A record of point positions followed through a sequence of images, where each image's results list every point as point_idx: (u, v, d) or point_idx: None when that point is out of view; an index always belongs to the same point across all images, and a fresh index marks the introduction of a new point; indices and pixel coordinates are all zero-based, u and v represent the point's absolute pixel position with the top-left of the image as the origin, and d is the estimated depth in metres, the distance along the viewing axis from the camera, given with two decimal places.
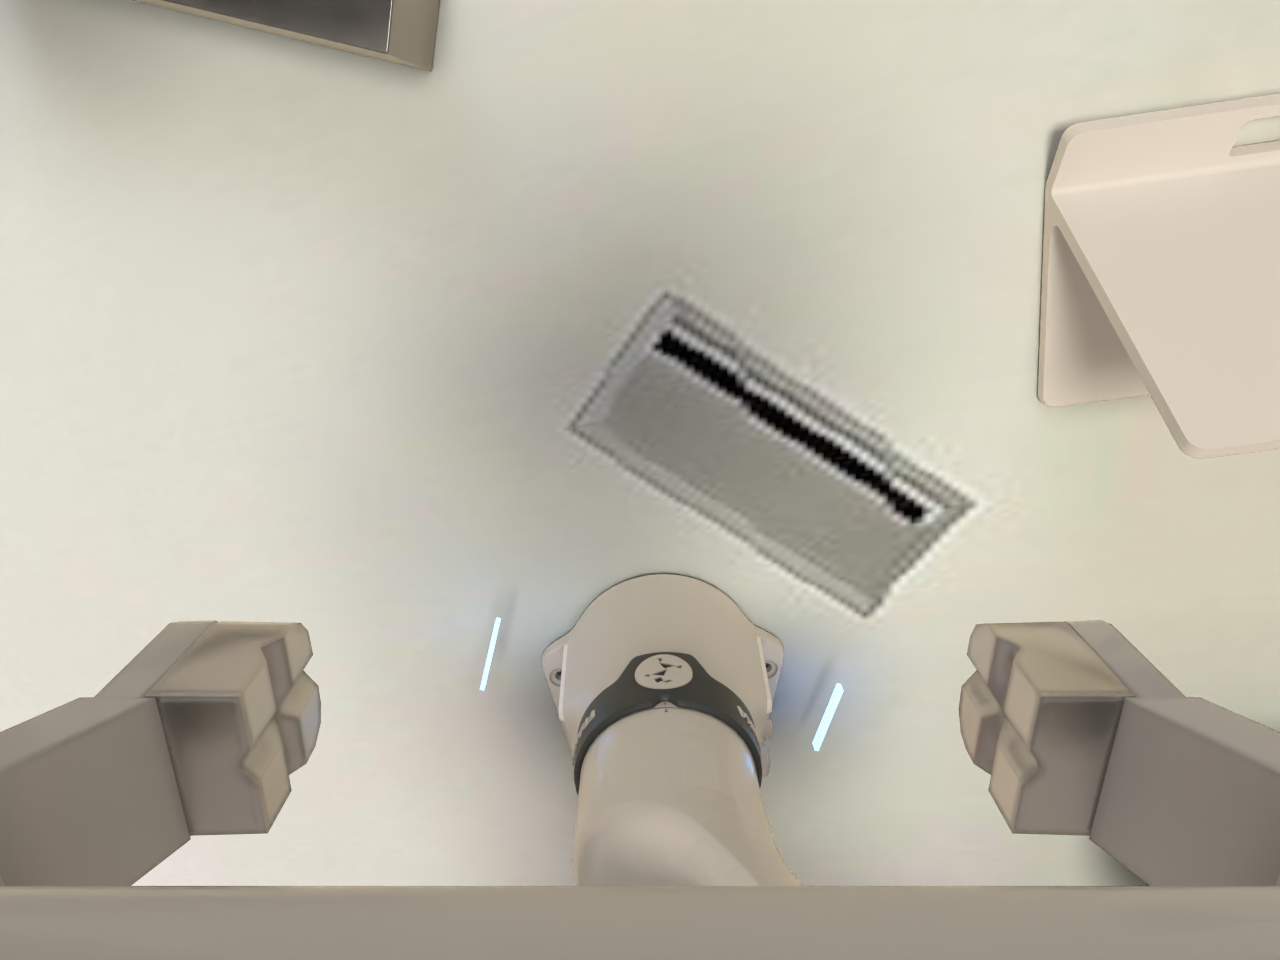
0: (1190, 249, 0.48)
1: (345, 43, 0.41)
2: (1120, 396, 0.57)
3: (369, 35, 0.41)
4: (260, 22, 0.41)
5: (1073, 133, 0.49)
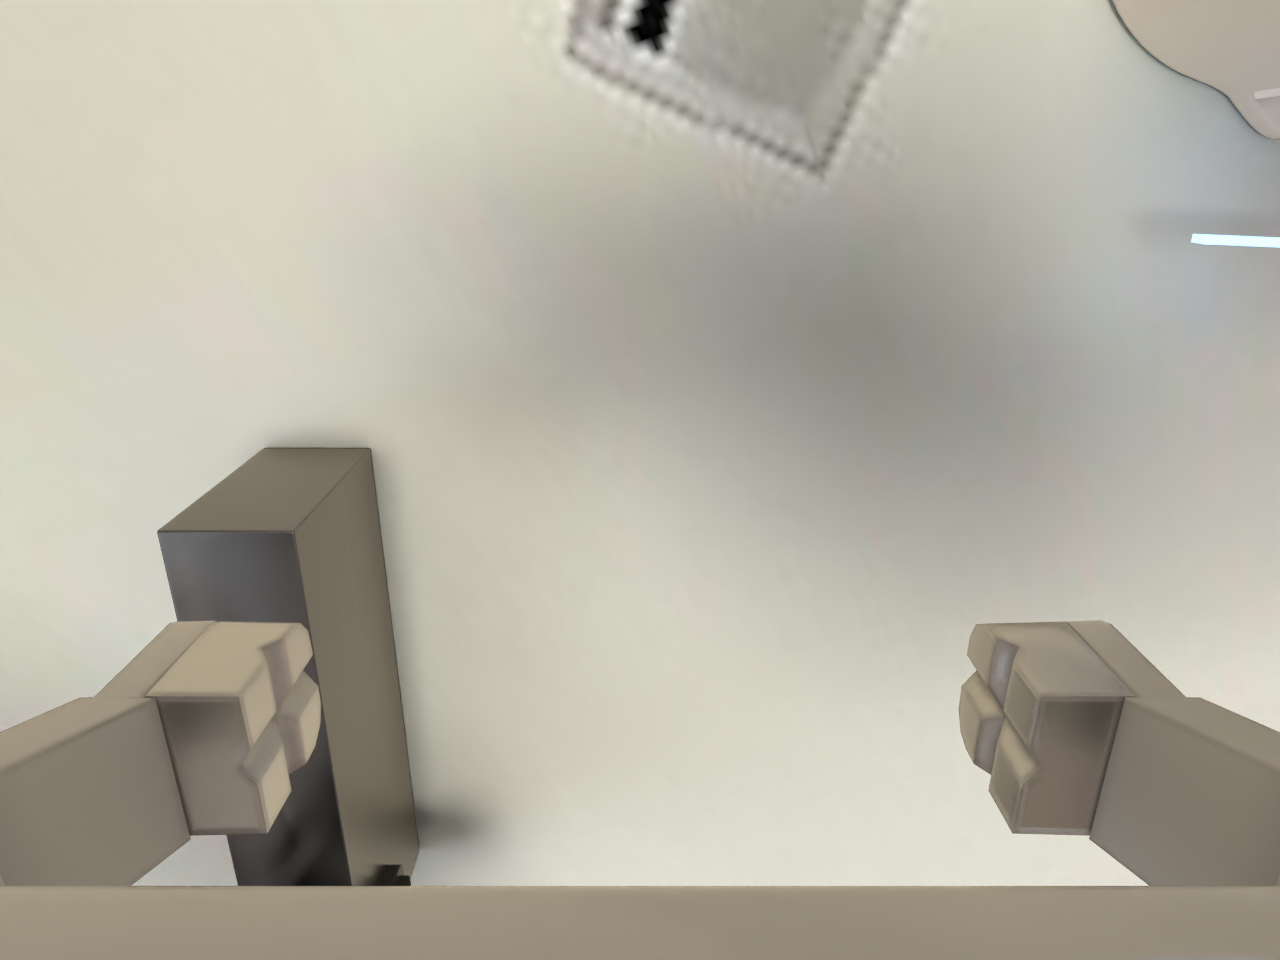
0: None
1: (301, 581, 0.32)
2: None
3: (280, 555, 0.31)
4: (315, 675, 0.33)
5: None
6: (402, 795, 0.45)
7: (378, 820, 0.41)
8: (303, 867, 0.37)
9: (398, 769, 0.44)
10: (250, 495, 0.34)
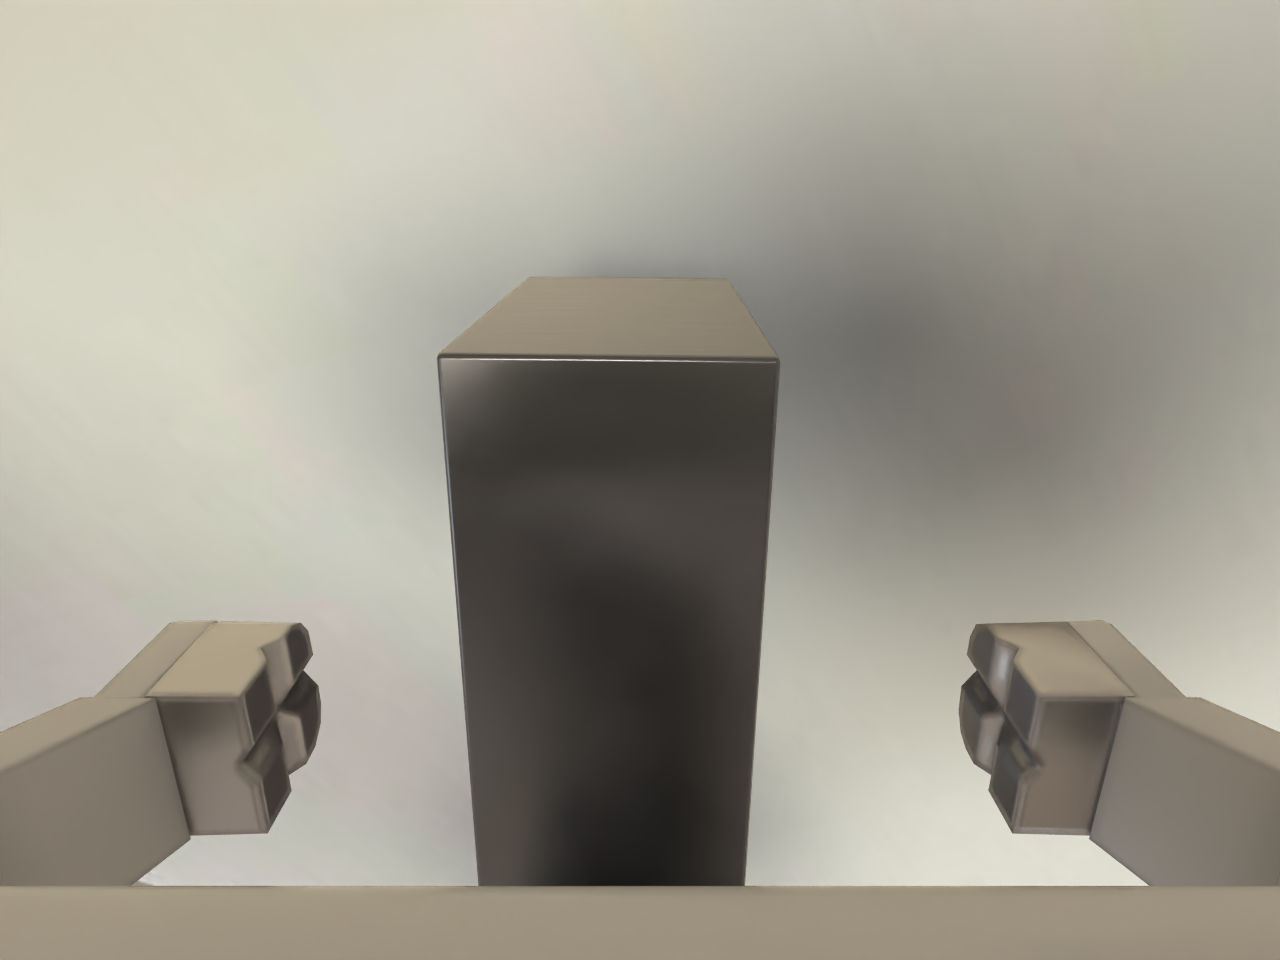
0: None
1: (769, 491, 0.13)
2: None
3: (733, 422, 0.13)
4: (753, 716, 0.14)
5: None
6: None
7: None
8: None
9: None
10: (586, 315, 0.15)
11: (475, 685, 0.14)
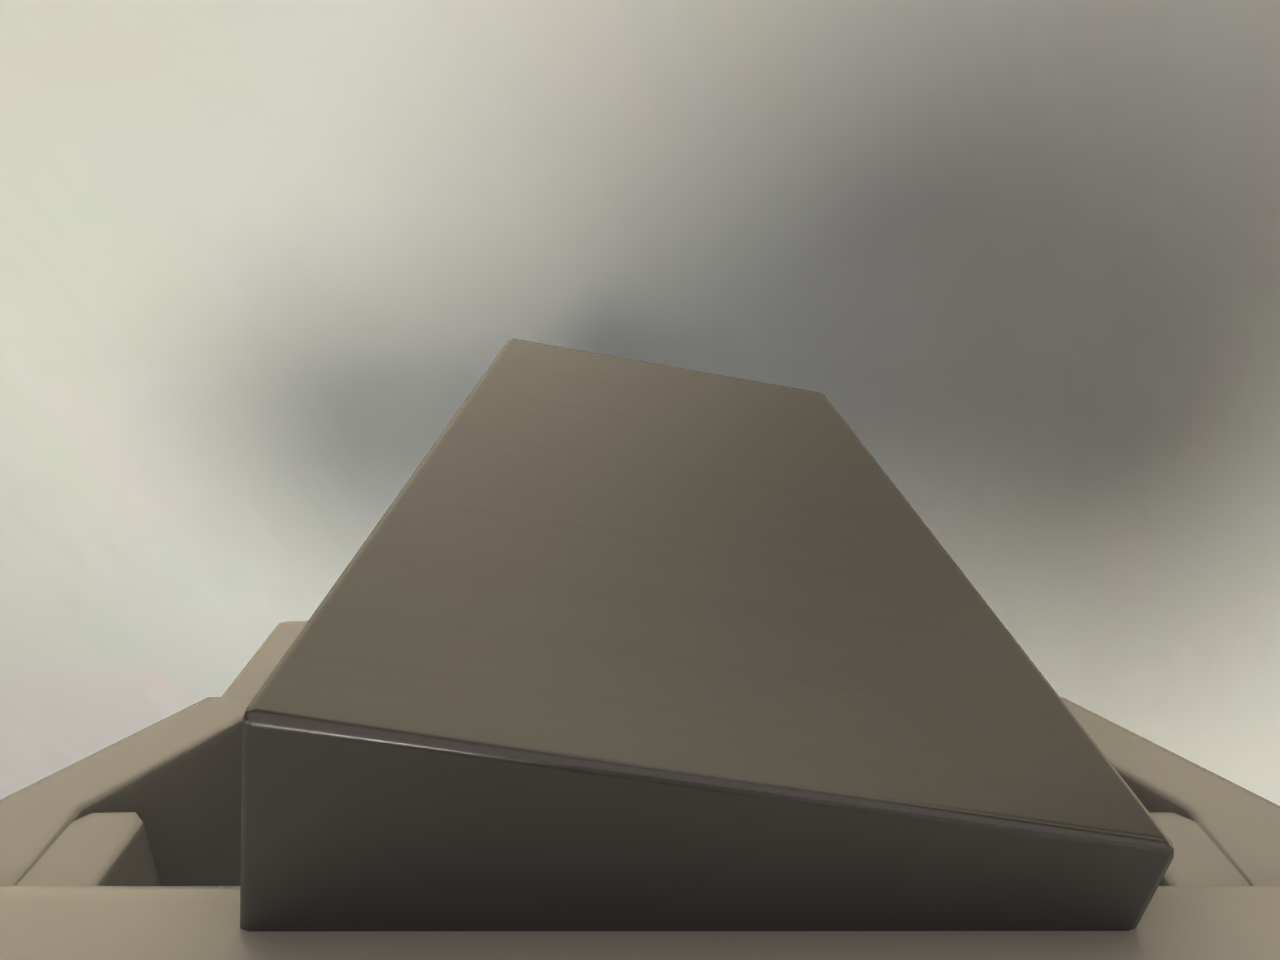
0: None
1: None
2: None
3: None
4: None
5: None
6: None
7: None
8: None
9: None
10: (627, 507, 0.08)
11: None
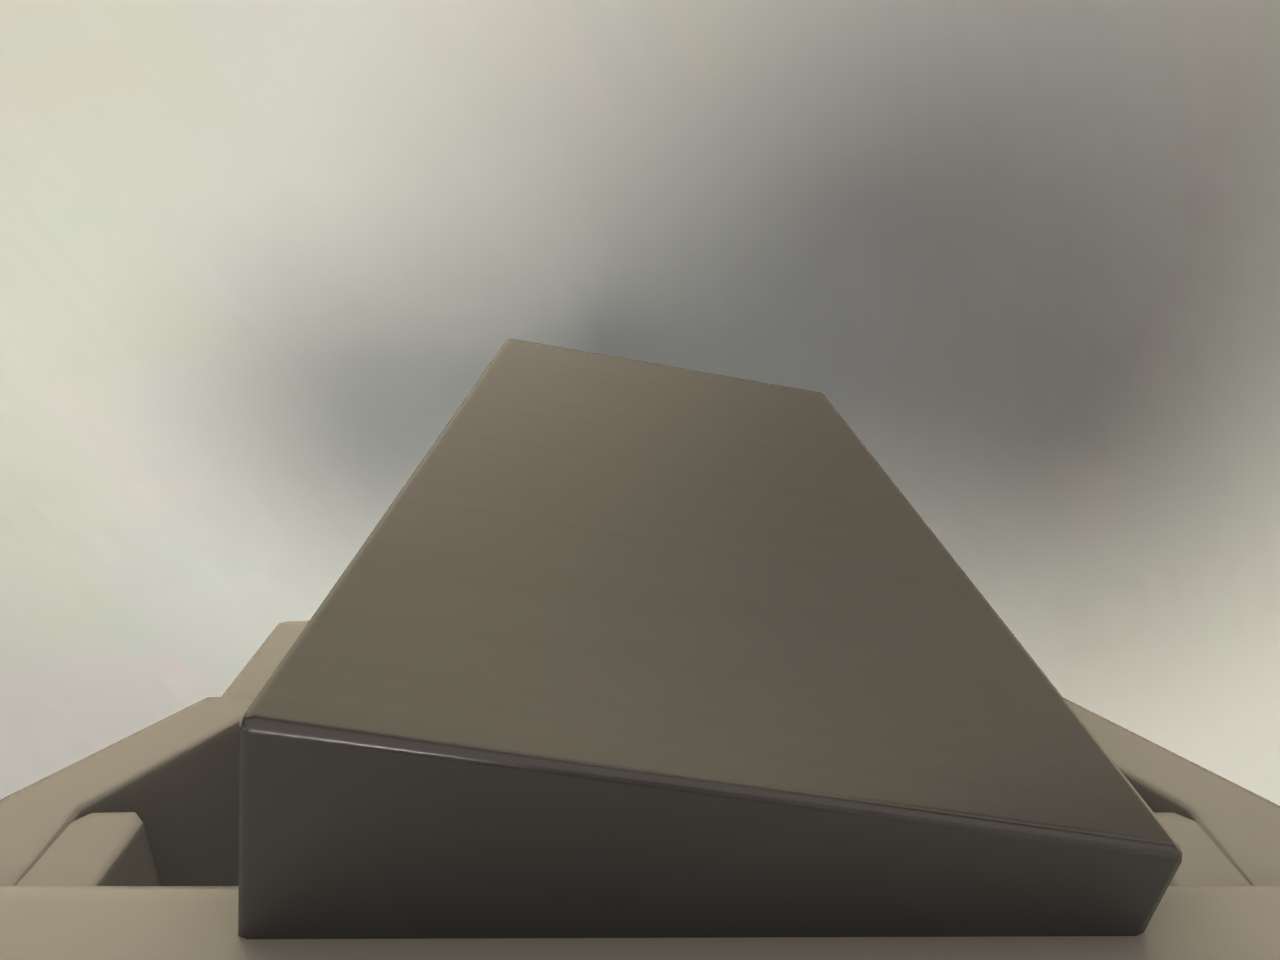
0: None
1: None
2: None
3: None
4: None
5: None
6: None
7: None
8: None
9: None
10: (628, 510, 0.07)
11: None
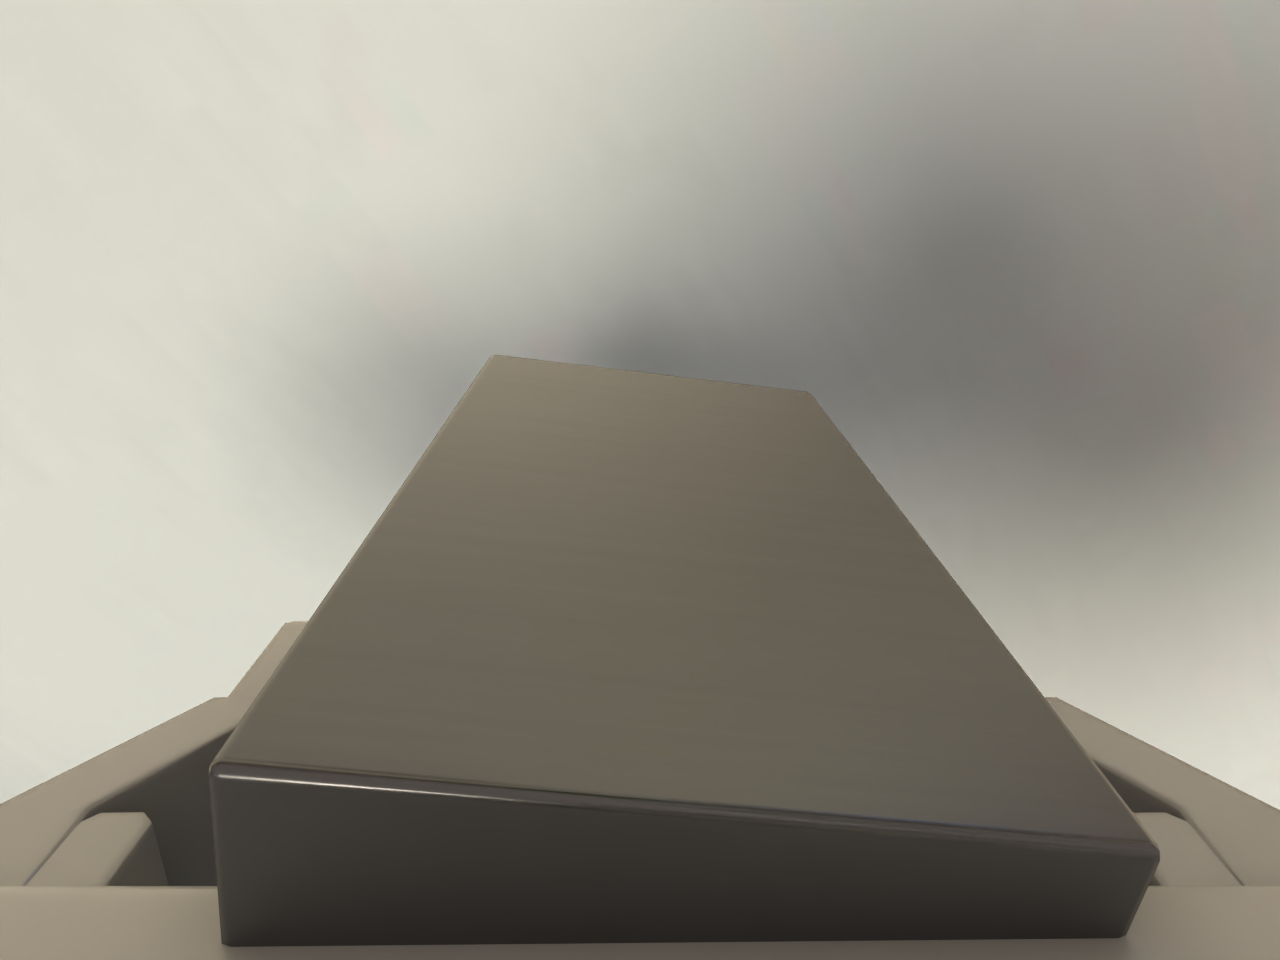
0: None
1: None
2: None
3: None
4: None
5: None
6: None
7: None
8: None
9: None
10: (607, 525, 0.07)
11: None
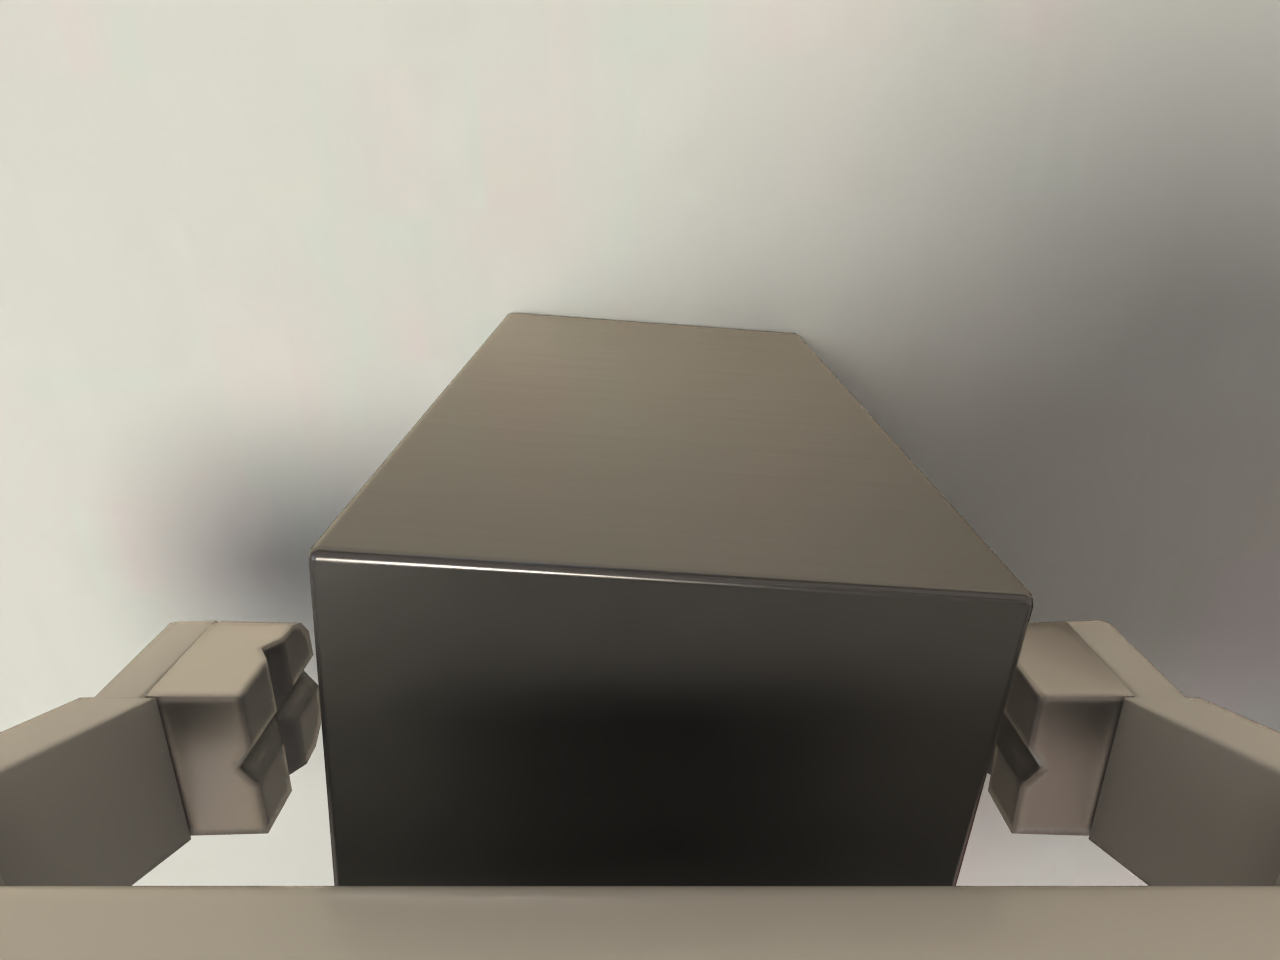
0: None
1: (965, 828, 0.07)
2: None
3: (920, 710, 0.06)
4: None
5: None
6: None
7: None
8: None
9: None
10: (609, 420, 0.09)
11: None
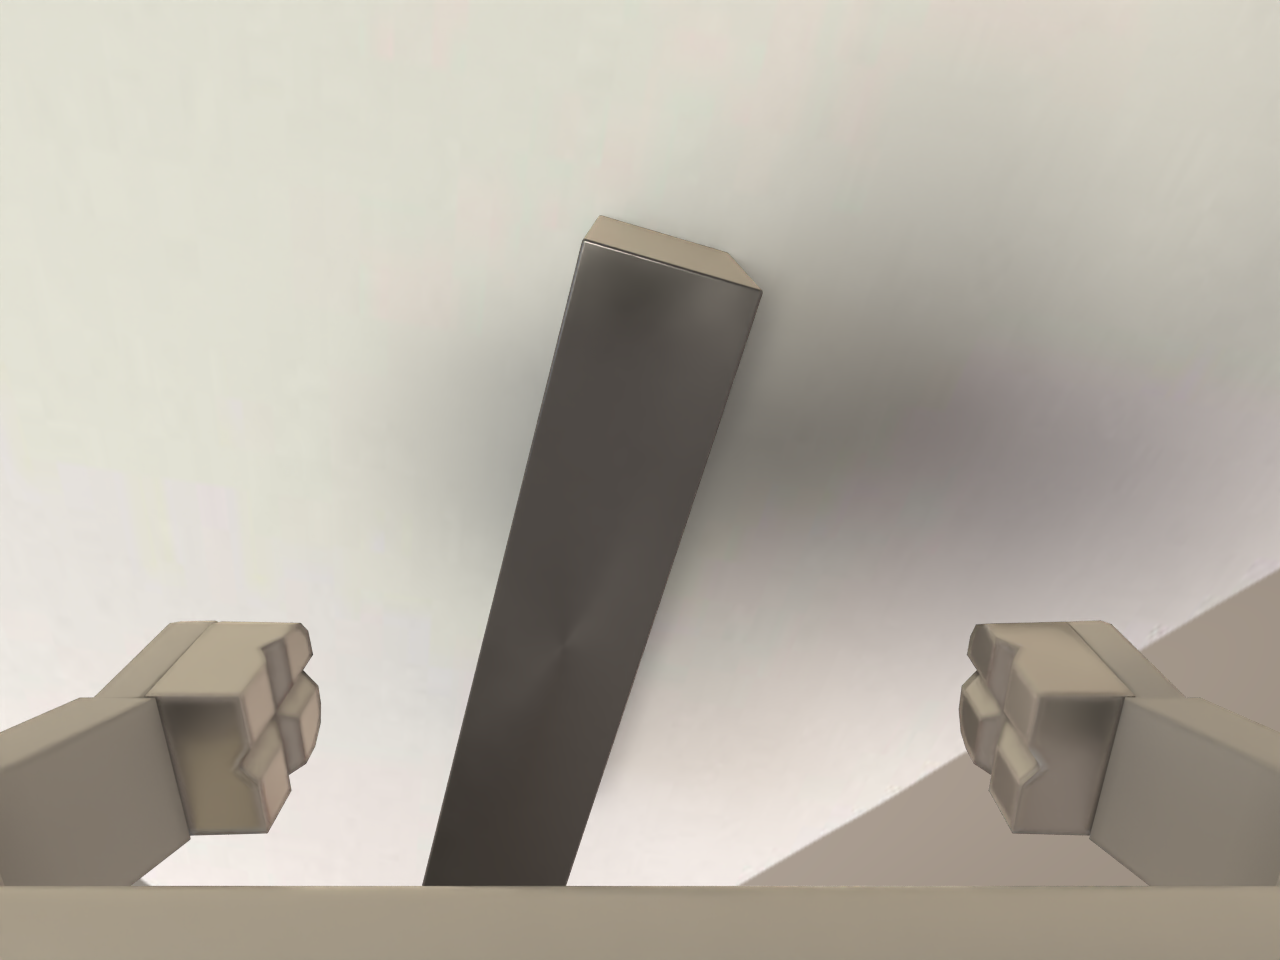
0: None
1: (737, 363, 0.23)
2: None
3: (729, 319, 0.23)
4: (693, 495, 0.25)
5: None
6: None
7: None
8: (552, 743, 0.28)
9: None
10: (652, 245, 0.26)
11: (541, 437, 0.24)
